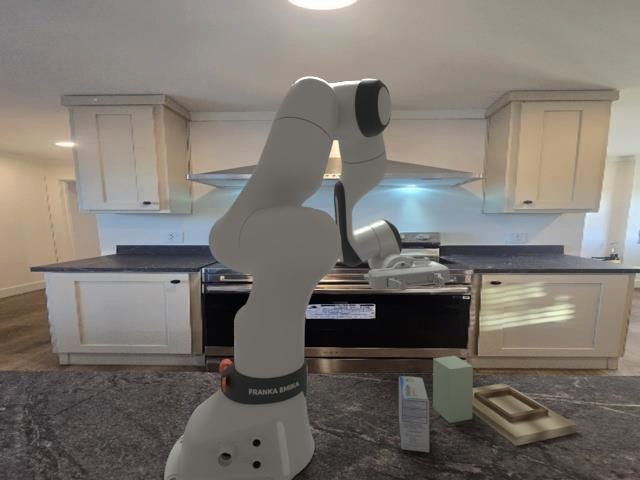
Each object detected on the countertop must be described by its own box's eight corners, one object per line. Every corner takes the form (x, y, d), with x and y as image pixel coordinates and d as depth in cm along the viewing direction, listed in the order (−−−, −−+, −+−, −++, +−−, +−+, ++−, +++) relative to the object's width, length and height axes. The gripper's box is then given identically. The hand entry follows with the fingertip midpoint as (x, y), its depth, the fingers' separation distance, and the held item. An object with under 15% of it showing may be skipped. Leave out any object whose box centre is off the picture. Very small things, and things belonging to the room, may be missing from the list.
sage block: (449, 422, 56) (449, 369, 56) (432, 407, 61) (433, 358, 61) (472, 418, 58) (472, 366, 57) (454, 404, 62) (454, 355, 62)
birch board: (515, 445, 50) (516, 430, 50) (454, 397, 65) (454, 386, 65) (575, 432, 53) (576, 418, 53) (504, 389, 68) (504, 378, 68)
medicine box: (429, 454, 48) (430, 400, 48) (400, 450, 49) (400, 397, 49) (423, 423, 56) (423, 377, 56) (398, 420, 57) (398, 374, 57)
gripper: (360, 263, 82) (378, 275, 68) (432, 256, 85) (462, 267, 71) (361, 286, 82) (379, 303, 69) (432, 278, 85) (463, 293, 72)
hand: (422, 284), depth 70 cm, fingers open, 8 cm apart
